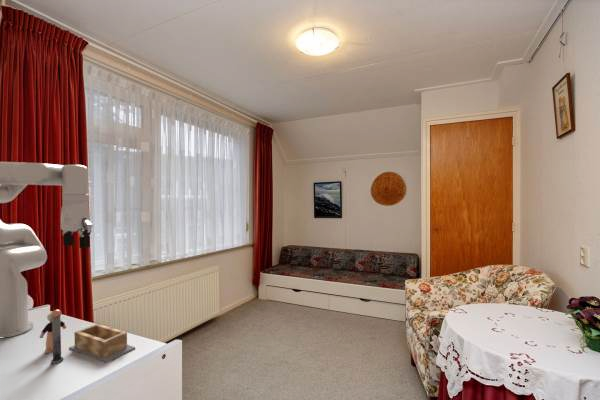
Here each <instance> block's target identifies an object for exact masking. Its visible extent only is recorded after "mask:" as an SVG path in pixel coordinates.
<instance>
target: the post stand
mask: <svg viewBox="0 0 600 400" xmlns="http://www.w3.org/2000/svg"><path fill="white" fill-rule="evenodd" d="M51 312H52V313H51ZM51 312H50V313H51V317H52V337H53V351H52V359H51V360H50V364H52V365H56V364H60V363H62V362H63V361H64V357H63V356H62V337H61V335H62V334H61V333H62V332H61V330H62V329H61V328H62V327H61V324H60V321H61V316H62V310H60V309H54V310H52V311H51Z"/></svg>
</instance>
